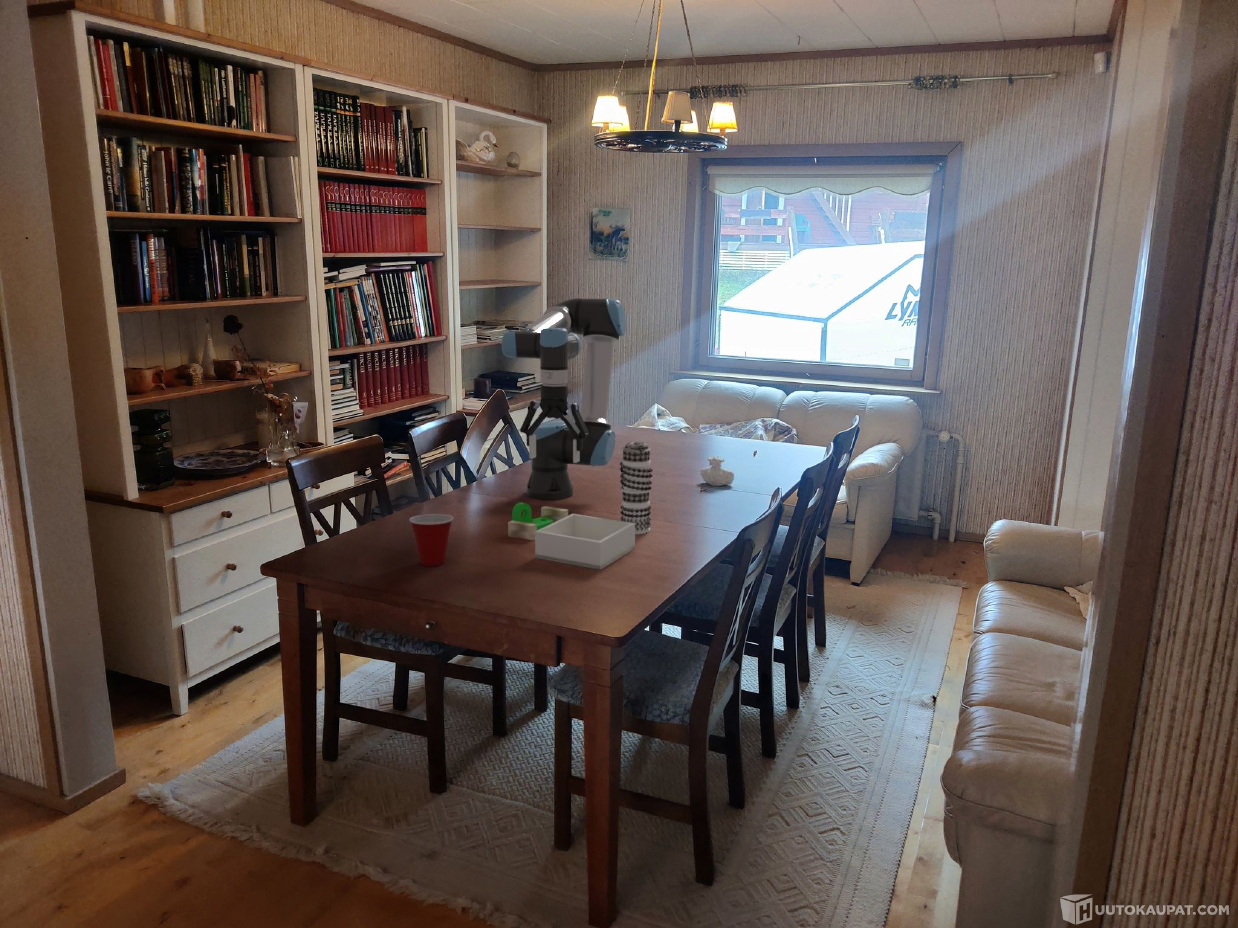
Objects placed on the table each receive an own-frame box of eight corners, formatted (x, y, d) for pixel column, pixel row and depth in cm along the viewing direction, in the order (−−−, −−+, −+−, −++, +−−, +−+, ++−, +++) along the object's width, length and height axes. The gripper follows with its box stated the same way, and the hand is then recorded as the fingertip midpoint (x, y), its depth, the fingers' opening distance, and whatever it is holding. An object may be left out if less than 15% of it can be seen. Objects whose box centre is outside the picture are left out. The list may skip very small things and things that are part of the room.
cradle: (508, 536, 249) (508, 522, 248) (544, 519, 265) (544, 506, 264) (532, 540, 245) (532, 526, 244) (568, 522, 262) (568, 509, 261)
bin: (535, 557, 231) (535, 531, 229) (572, 538, 247) (572, 513, 246) (600, 569, 222) (600, 542, 221) (634, 548, 239) (635, 523, 237)
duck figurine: (699, 489, 310) (693, 468, 302) (704, 472, 314) (699, 451, 306) (732, 493, 305) (727, 472, 297) (738, 476, 310) (733, 454, 302)
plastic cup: (457, 555, 232) (456, 510, 229) (451, 569, 222) (450, 522, 219) (415, 555, 232) (413, 510, 229) (407, 569, 221) (405, 522, 219)
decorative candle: (614, 526, 258) (615, 441, 253) (644, 523, 261) (645, 439, 256) (625, 535, 250) (626, 447, 244) (656, 532, 253) (658, 445, 248)
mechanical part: (527, 536, 250) (526, 508, 248) (512, 531, 253) (511, 504, 252) (557, 526, 259) (557, 499, 257) (542, 522, 262) (542, 496, 261)
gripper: (507, 383, 249) (508, 458, 254) (590, 388, 240) (589, 466, 245) (520, 380, 256) (521, 453, 261) (601, 385, 247) (600, 461, 252)
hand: (554, 460), depth 253 cm, fingers open, 13 cm apart
